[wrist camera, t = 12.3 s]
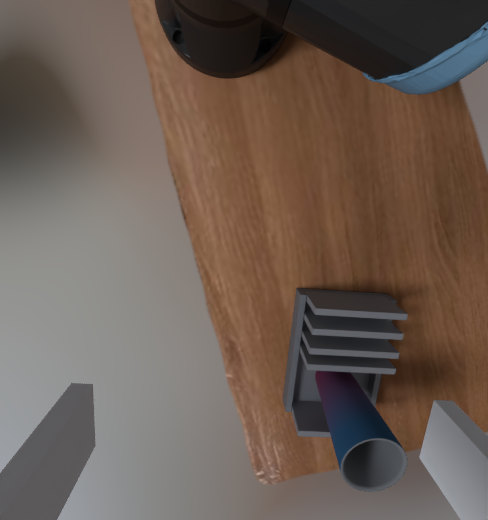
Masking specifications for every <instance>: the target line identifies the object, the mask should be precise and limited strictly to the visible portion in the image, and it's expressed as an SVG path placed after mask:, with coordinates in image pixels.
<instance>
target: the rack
mask: <svg viewBox="0 0 488 520" xmlns="http://www.w3.org/2000/svg"><path fill="white" fill-rule="evenodd" d="M396 302H397V301H396V300H395V299H394V298H392V297H391V296H390V295H388V294H383V293H368V292H352V291H336V290H320V289H304V288H296V297H295V305H294V313H293V321H292V329H291V337H290V345H289V353H288V361H287V370H286V378H285V386H284V394H283V402H284V407H285V411H286V412H291V411H292V415H293V419H294V423H295V427H296V431H297V435H298V436H309V437H331V434H330V431H329V427H328V424H327V420H326V416H325V413H324V409H323V405H322V402H321V398H320V394H319V391H318V387H317V384H316V380H315V374H316V371H336V372H351V374H352V375H353V377H354V378H355V379H356V381H357V382H358V384H359V385H360V387H361V388H362V390H363V391H364V392H365V394H366V395H367V397H368V398H369V400H370V401H371V403H372V404H373V406H374V407H375V404H376V399H377V395H378V390H379V385H380V380H381V375H382V374H395V372H396V368H395V367H394V366H393V365H392V363H391V362H390V361H389V360H388V359H387V358H392V359H398V358H399V352H398V351H397V350H396V349H395V348H394V347H393V346H392V345H391V344H390V343H389V342H388V341H389V339H396V340H402V339H403V335H404V334H403V333H402V332H401V331H400V330H399V329H398V328H397V327H396V326H394V325H393V324H392V321H393V319H394V320H407V316H408V314H407V313H406V312H405V311H403V310H402V309H401V308H399V307H398V306H397V305H396Z"/></svg>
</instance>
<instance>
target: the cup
mask: <svg viewBox="0 0 488 520" xmlns="http://www.w3.org/2000/svg"><path fill="white" fill-rule="evenodd" d="M315 380H316V384H317V387H318V391H319V394H320V398H321V402H322V405H323V409H324V413H325V416H326V420H327V424H328V427H329V431H330V434H331V438H332V442H333V445H334V449H335V453H336V456H337V460H338V464H339V467H340V471H341V474H342V477H343V479H344V480H345V481H346V483H347V484H348V485H350V486H351V487H353V488H355V489H357V490H360V491H365V492H374V491H380V490H384V489H386V488H389V487H390V486H392V485H394V484H395V483H396V482H397V481H399V480H400V479H401V477H402V476H403V475H404V473H405V471H406V468H407V455H406V453H405V451H404V449H403V448H402V446H401V445H400V443H399V442H398V440H397V439H396V437H395V436H394V435H393V433H392V432H391V430H390V429H389V427H388V426H387V424H386V423H385V422H384V420H383V419H382V417H381V416H380V414H379V413H378V411H377V410H376V408H375V407H374V406H373V404H372V403H371V401H370V400H369V398H368V397H367V395H366V394H365V392H364V391H363V390H362V388H361V387H360V385H359V384H358V382H357V381H356V379H355V378H354V377H353V375H352V374H351V372H336V371H316V374H315Z"/></svg>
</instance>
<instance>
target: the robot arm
mask: <svg viewBox="0 0 488 520" xmlns="http://www.w3.org/2000/svg"><path fill="white" fill-rule="evenodd" d="M155 5H156V10H157V14H158V17H159V20H160V23H161V25H162V28H163V30H164V32H165V34H166V36H167V38H168V40H169V42H170V44H171V45H172V47H173V48H174V50H175V51H176V52H177V54H178V55H179V56H180V57H181V58H182V59H183V60H184V61H185V62H186V63H187V64H189V65H190V66H191V67H193V68H194V69H196V70H198V71H200V72H202V73H204V74H206V75H209V76H213V77H218V78H236V77H241V76H245V75H248V74H250V73H252V72H254V71H256V70H258V69H259V68H261V67H262V66H264V65H265V64H266V63H267V62H268V61H269V60H270V59H271V58H272V57H273V56H274V55H275V54H276V52H277V51H278V49H279V48H280V46H281V45H282V43H283V41H284V39H285V37H286V34H287V32H290V33H291V34H293V35H295V36H297V37H299V38H301V39H303V40H304V41H306V42H308V43H310V44H312V45H314V46H315V47H317V48H319V49H321V50H323V51H325V52H327V53H328V54H330V55H332V56H334V57H336V58H338V59H339V60H341V61H343V62H345V63H347V64H349V65H351V66H352V67H354V68H356V69H358V70H360V71H362V72H363V75H364V76H365V77H366V78H367V79H369V80H371V81H373V82H378V83H384V84H386V85H388V86H390V87H392V88H395V89H397V90H399V91H401V92H403V93H406V94H418V95H420V94H428V93H432V92H435V91H438V90H441V89H443V88H445V87H447V86H450V85H452V84H453V83H455V82H457V81H459V80H460V79H462V78H464V77H465V76H467V75H468V74H470V73H471V72H473V71H474V70H475V69H477V68H478V67H480V66H481V65H482V64H484V63H485V62H487V61H488V0H155ZM93 404H94V403H93V384H74V383H71V385H70V386H69V387H68V388H67V390H66V391H65V392H64V394H63V395H62V396H61V397H60V399H59V400H58V401H57V402H56V404H55V405H54V406H53V407H52V409H51V410H50V411H49V412H48V414H47V415H46V416H45V418H44V419H43V420H42V421H41V423H40V424H39V425H38V426H37V428H36V429H35V430H34V431H33V433H32V434H31V435H30V436H29V438H28V439H27V440H26V442H25V443H24V444H23V445H22V447H21V448H20V449H19V450H18V452H17V453H16V454H15V455H14V456H13V458H12V459H11V460H10V462H9V463H8V464H7V465H6V467H5V468H4V469H3V470H2V472H1V473H0V520H57V518H58V517H59V515H60V513H61V511H62V509H63V507H64V505H65V503H66V501H67V499H68V497H69V495H70V493H71V491H72V490H73V488H74V486H75V484H76V482H77V480H78V478H79V476H80V474H81V472H82V470H83V468H84V466H85V464H86V463H87V461H88V459H89V457H90V455H91V453H92V451H93V449H94V447H95V429H94V428H95V427H94V405H93ZM419 458H420V459H421V461H422V462H423V464H424V465H425V467H426V468H427V470H428V471H429V473H430V474H431V476H432V477H433V479H434V480H435V482H436V483H437V485H438V486H439V488H440V489H441V491H442V492H443V494H444V495H445V497H446V498H447V500H448V501H449V503H450V504H451V506H452V507H453V509H454V510H455V512H456V513H457V515H458V516H459V518H460V519H461V520H488V436H487V435H486V434H485V433H484V432H483V431H482V430H481V429H480V428H479V427H478V426H477V425H476V424H475V423H474V422H473V421H472V420H471V419H470V418H469V417H468V416H467V415H466V414H465V413H464V412H463V411H462V410H461V409H460V408H459V407H458V406H457V405H456V404H455V403H454V402H453V401H443V400H434V402H433V406H432V410H431V414H430V418H429V422H428V426H427V430H426V433H425V437H424V441H423V445H422V449H421V453H420V457H419Z"/></svg>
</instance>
